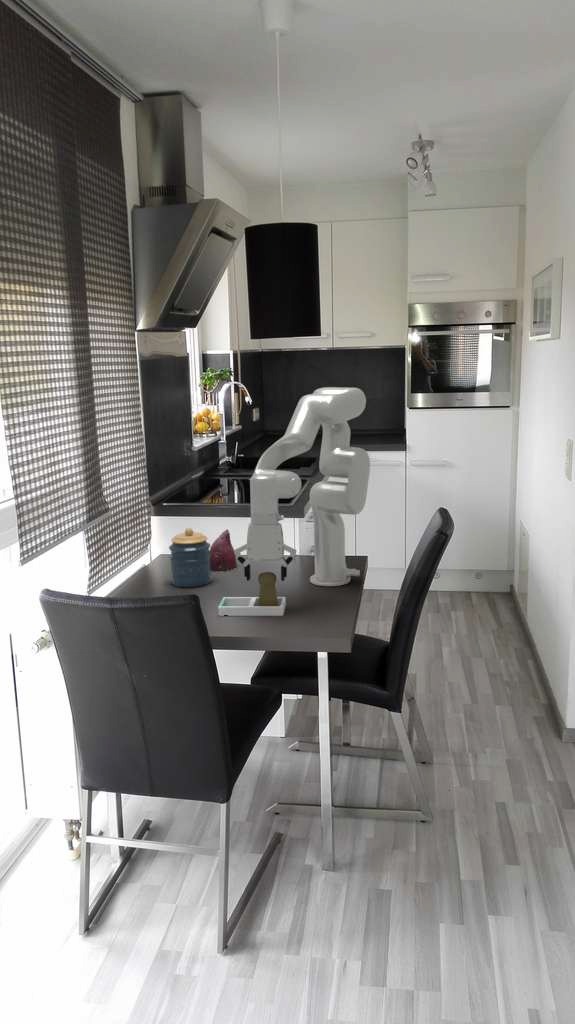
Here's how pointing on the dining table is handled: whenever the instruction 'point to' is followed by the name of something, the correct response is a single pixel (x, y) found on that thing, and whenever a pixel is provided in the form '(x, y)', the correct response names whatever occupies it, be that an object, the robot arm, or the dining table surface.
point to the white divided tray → (249, 607)
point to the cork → (267, 589)
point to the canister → (190, 560)
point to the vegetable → (222, 553)
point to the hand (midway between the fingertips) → (265, 579)
